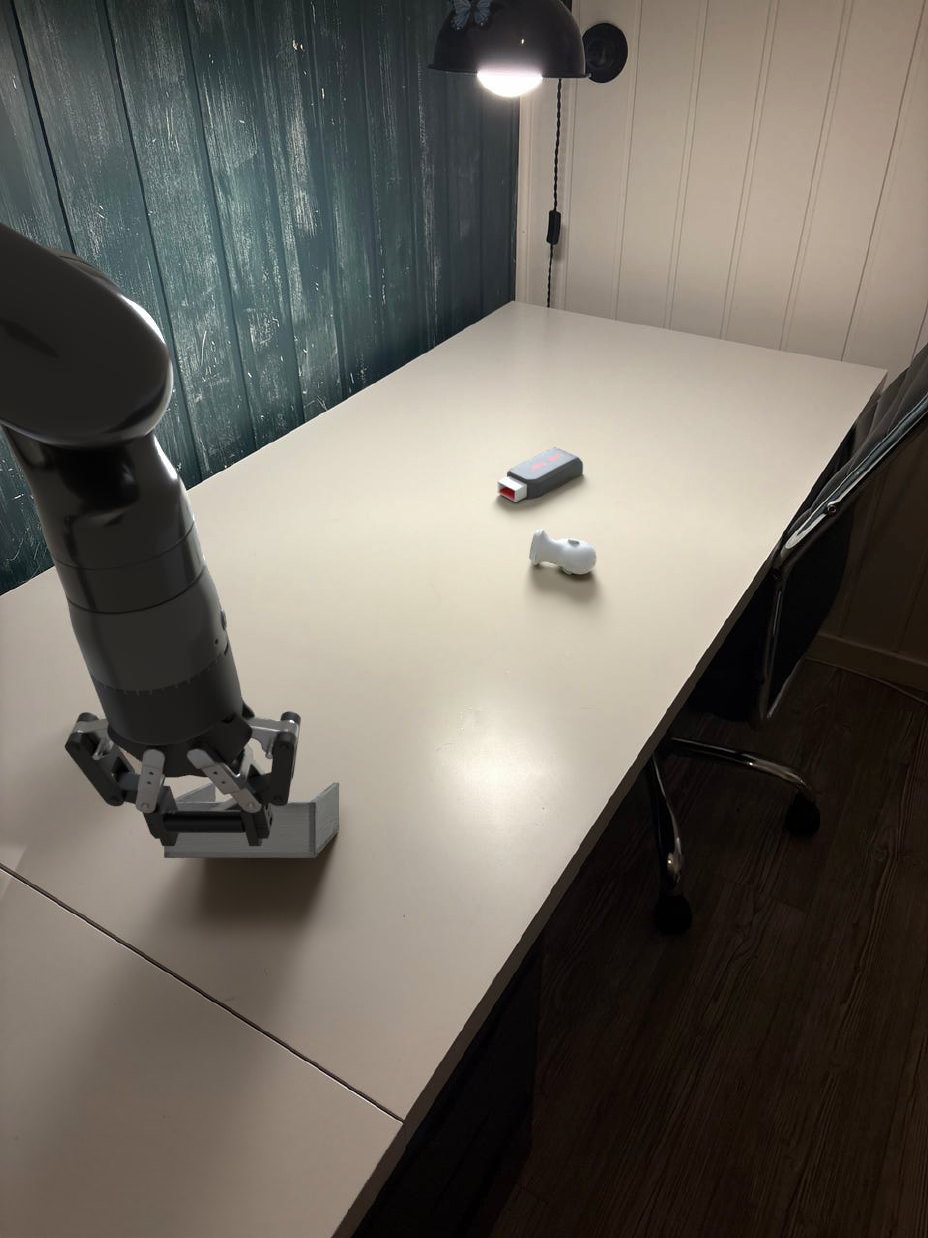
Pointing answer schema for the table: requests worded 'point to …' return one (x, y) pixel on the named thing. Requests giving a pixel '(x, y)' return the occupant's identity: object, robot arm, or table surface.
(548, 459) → the usb drive
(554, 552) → the smooth white sculpture
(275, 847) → the metal dustpan with handle
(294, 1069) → the table surface
